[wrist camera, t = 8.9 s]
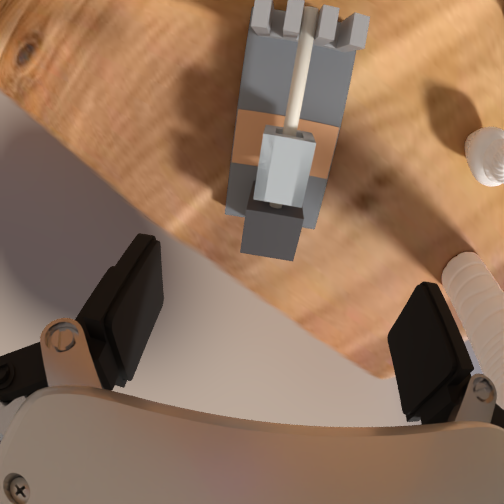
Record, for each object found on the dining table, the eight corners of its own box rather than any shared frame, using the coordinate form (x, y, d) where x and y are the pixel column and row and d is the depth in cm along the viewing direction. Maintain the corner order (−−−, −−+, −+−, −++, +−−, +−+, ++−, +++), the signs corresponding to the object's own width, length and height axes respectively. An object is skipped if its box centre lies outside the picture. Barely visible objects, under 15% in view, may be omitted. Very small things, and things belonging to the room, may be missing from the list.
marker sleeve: (265, 124, 22) (263, 133, 19) (311, 132, 22) (316, 143, 19) (256, 182, 25) (253, 199, 22) (299, 189, 25) (301, 207, 22)
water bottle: (432, 275, 34) (500, 461, 13) (467, 241, 30) (563, 419, 10) (461, 302, 36) (519, 458, 15) (492, 273, 32) (567, 425, 12)
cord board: (253, 10, 20) (242, -12, 13) (356, 29, 20) (383, 17, 13) (227, 207, 31) (211, 251, 25) (313, 222, 31) (320, 269, 25)
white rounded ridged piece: (502, 153, 24) (539, 177, 18) (468, 183, 26) (501, 213, 21) (480, 107, 22) (521, 124, 16) (443, 139, 24) (479, 162, 19)
